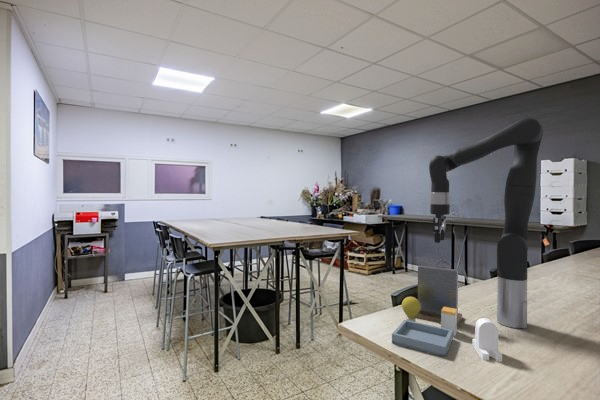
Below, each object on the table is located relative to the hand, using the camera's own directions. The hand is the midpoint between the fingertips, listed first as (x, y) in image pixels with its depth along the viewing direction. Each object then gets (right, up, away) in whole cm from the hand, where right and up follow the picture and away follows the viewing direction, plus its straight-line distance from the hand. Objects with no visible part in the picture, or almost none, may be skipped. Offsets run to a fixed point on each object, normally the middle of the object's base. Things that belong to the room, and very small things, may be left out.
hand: (439, 241), depth 137 cm
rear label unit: (-5, -28, -11) cm, 31 cm away
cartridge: (-7, -29, -24) cm, 38 cm away
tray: (-19, -29, -31) cm, 46 cm away
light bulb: (-18, -29, -17) cm, 38 cm away
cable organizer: (-2, -29, -39) cm, 49 cm away
